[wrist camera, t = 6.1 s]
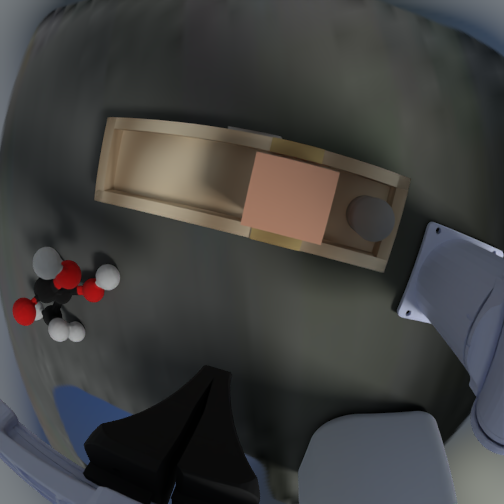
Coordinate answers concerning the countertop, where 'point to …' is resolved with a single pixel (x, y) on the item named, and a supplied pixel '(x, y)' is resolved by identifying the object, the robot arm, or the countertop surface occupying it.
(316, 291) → the countertop surface
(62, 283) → the molecular model
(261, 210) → the pink cube
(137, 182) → the wooden tray
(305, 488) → the plastic bottle
